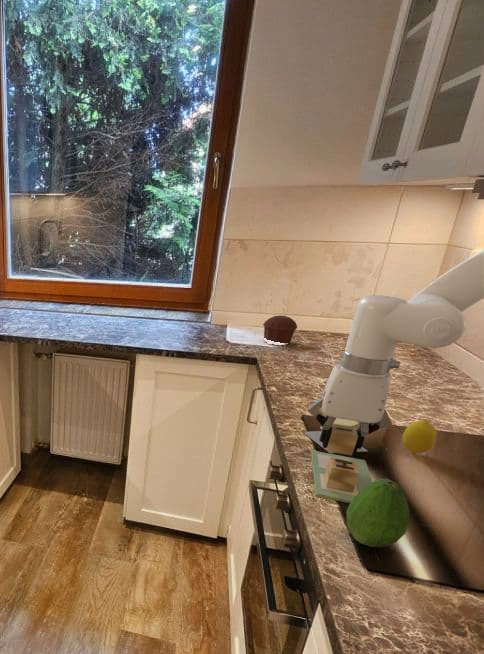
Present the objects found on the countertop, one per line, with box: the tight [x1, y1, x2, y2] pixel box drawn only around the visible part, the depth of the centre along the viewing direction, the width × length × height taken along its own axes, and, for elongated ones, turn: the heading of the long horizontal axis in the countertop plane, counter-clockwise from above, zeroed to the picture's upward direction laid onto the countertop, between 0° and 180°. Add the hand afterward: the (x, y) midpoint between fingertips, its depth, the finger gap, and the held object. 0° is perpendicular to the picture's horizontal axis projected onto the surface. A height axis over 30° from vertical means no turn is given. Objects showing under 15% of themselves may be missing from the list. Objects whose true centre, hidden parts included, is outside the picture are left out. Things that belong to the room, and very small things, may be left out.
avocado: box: [346, 477, 411, 548], centre depth 74 cm, size 8×8×12 cm
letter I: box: [326, 424, 358, 456], centre depth 95 cm, size 4×4×5 cm
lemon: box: [401, 419, 438, 455], centre depth 101 cm, size 6×6×8 cm
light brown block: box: [324, 457, 359, 493], centre depth 90 cm, size 4×4×5 cm
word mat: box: [310, 449, 373, 504], centre depth 94 cm, size 10×18×1 cm, turn 154°
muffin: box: [262, 315, 298, 344], centre depth 176 cm, size 12×11×10 cm
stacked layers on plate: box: [302, 418, 368, 454], centre depth 107 cm, size 10×9×6 cm
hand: (338, 446), depth 96 cm, fingers closed on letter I, 4 cm apart
